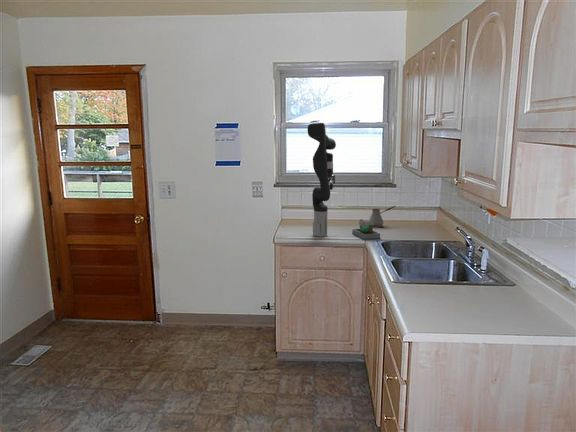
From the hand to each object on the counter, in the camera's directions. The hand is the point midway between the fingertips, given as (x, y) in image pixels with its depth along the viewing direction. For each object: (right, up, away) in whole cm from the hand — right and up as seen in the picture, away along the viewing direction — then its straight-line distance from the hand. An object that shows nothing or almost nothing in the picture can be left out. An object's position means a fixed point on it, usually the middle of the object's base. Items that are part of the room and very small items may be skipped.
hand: (327, 190), depth 315 cm
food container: (+23, -32, -22) cm, 45 cm away
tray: (+24, -32, -21) cm, 46 cm away
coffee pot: (+42, -26, +11) cm, 51 cm away
